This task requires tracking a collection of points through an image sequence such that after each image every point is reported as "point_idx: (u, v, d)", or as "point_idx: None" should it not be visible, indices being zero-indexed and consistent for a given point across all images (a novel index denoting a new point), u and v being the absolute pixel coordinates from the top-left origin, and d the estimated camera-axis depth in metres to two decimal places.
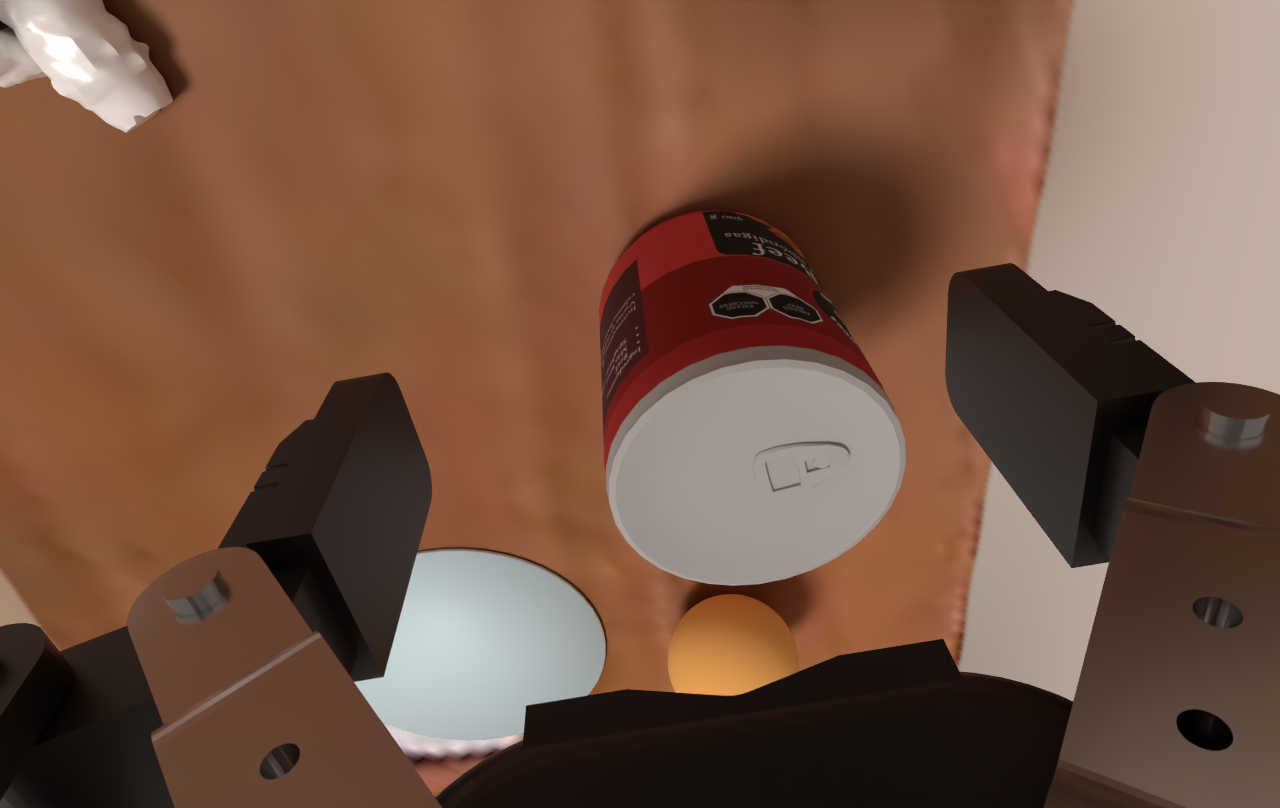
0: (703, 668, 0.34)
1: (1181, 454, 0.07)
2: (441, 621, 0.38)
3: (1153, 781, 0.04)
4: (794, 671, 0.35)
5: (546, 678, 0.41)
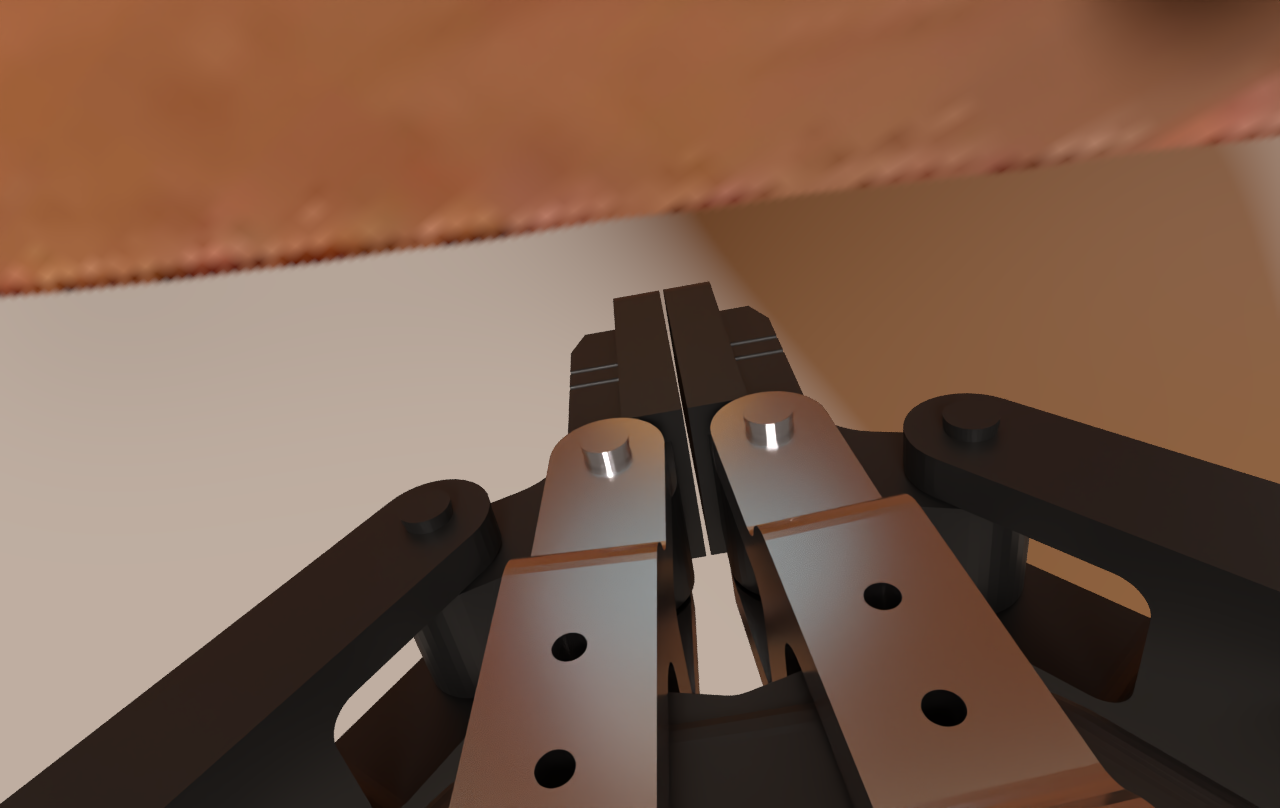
0: None
1: (756, 468, 0.08)
2: None
3: (946, 782, 0.04)
4: None
5: None
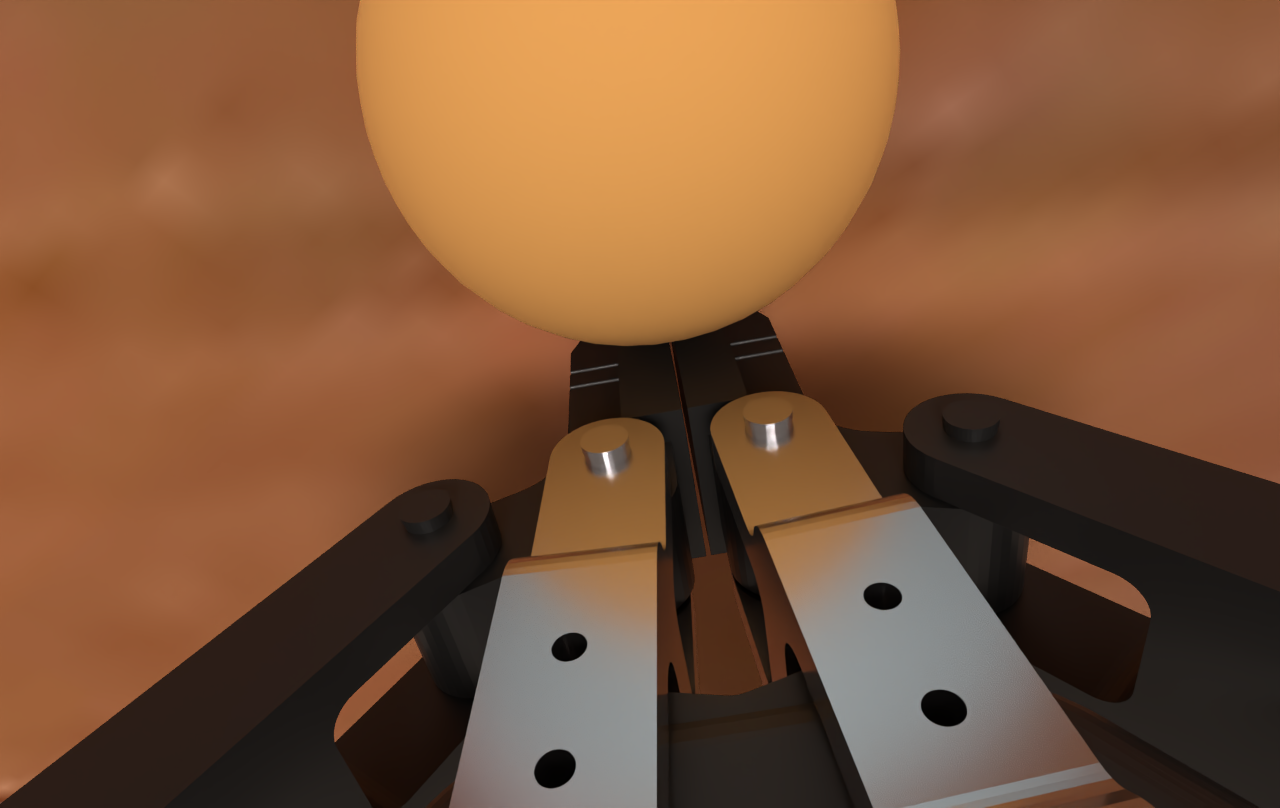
0: None
1: (756, 468, 0.08)
2: None
3: (946, 783, 0.04)
4: (666, 198, 0.07)
5: None
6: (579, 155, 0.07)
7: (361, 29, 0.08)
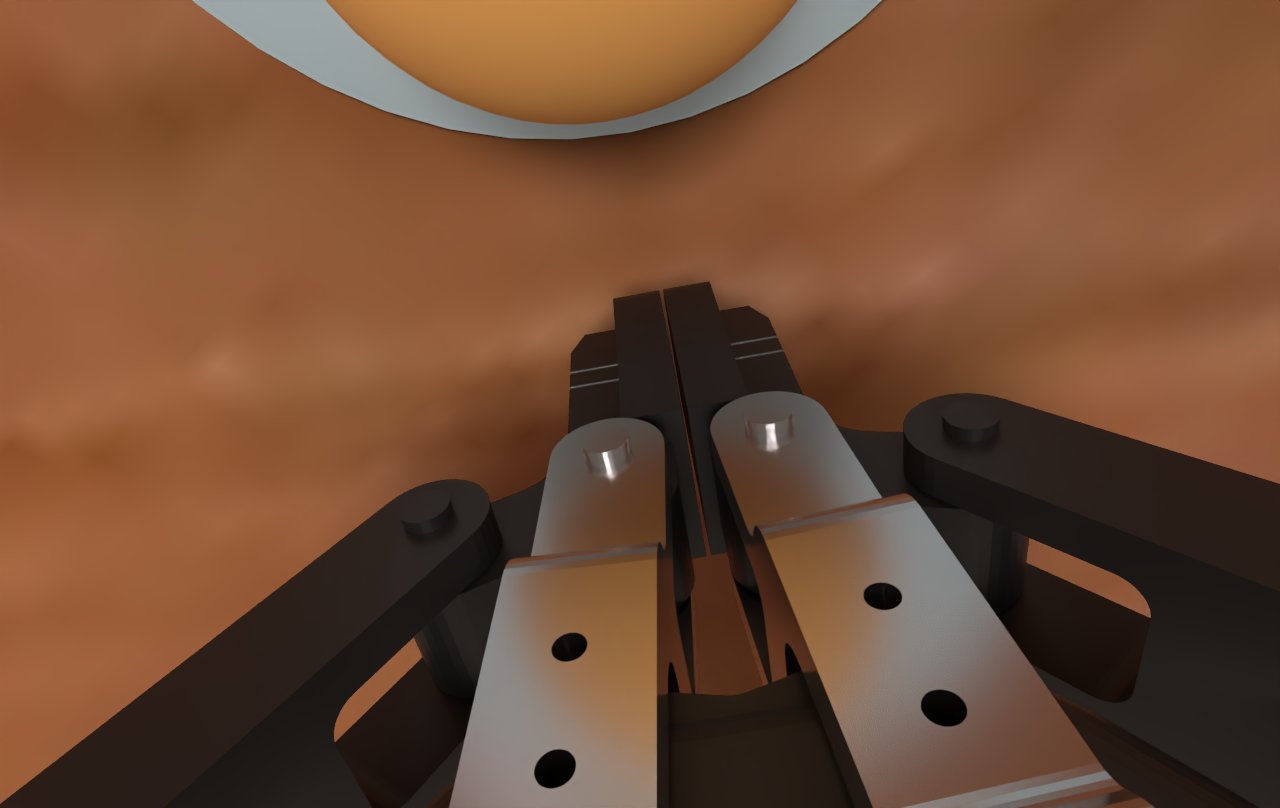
0: None
1: (756, 468, 0.08)
2: None
3: (946, 783, 0.04)
4: None
5: None
6: None
7: None
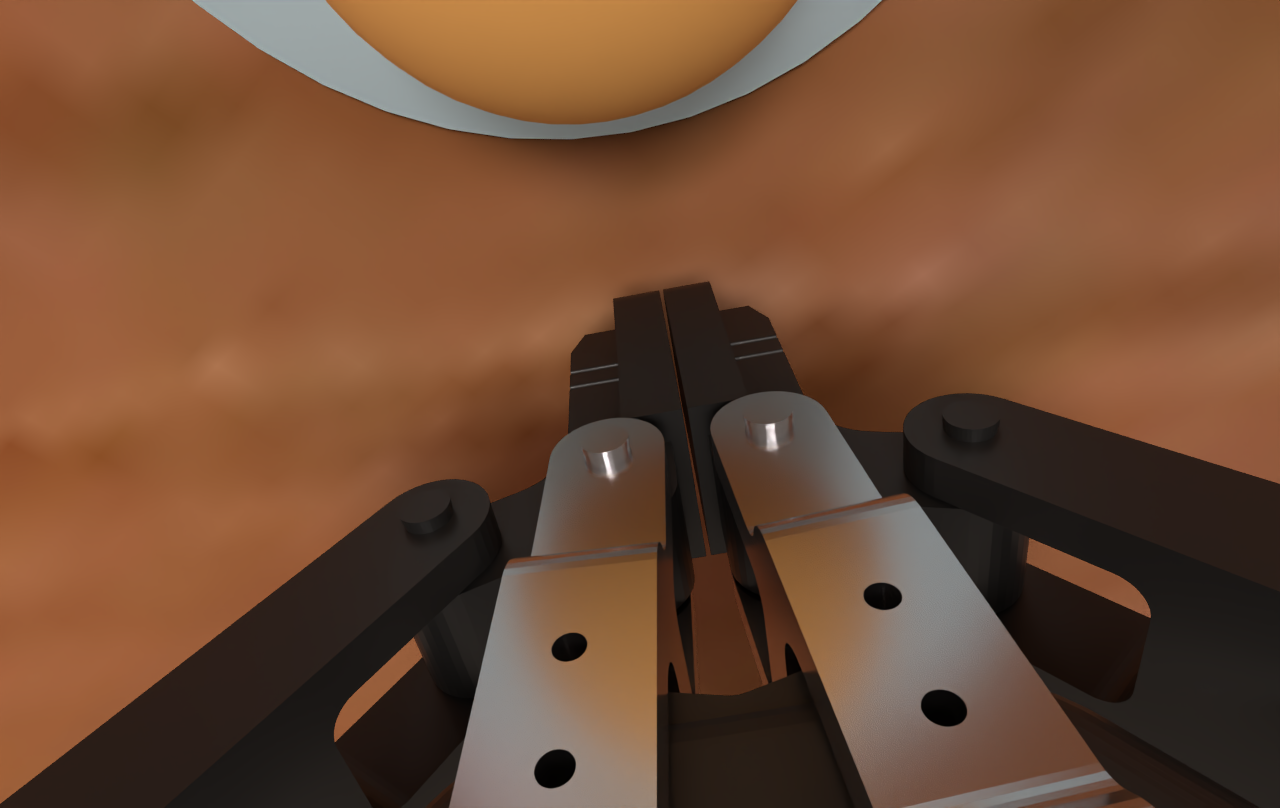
0: None
1: (756, 468, 0.08)
2: None
3: (946, 783, 0.04)
4: None
5: None
6: None
7: None
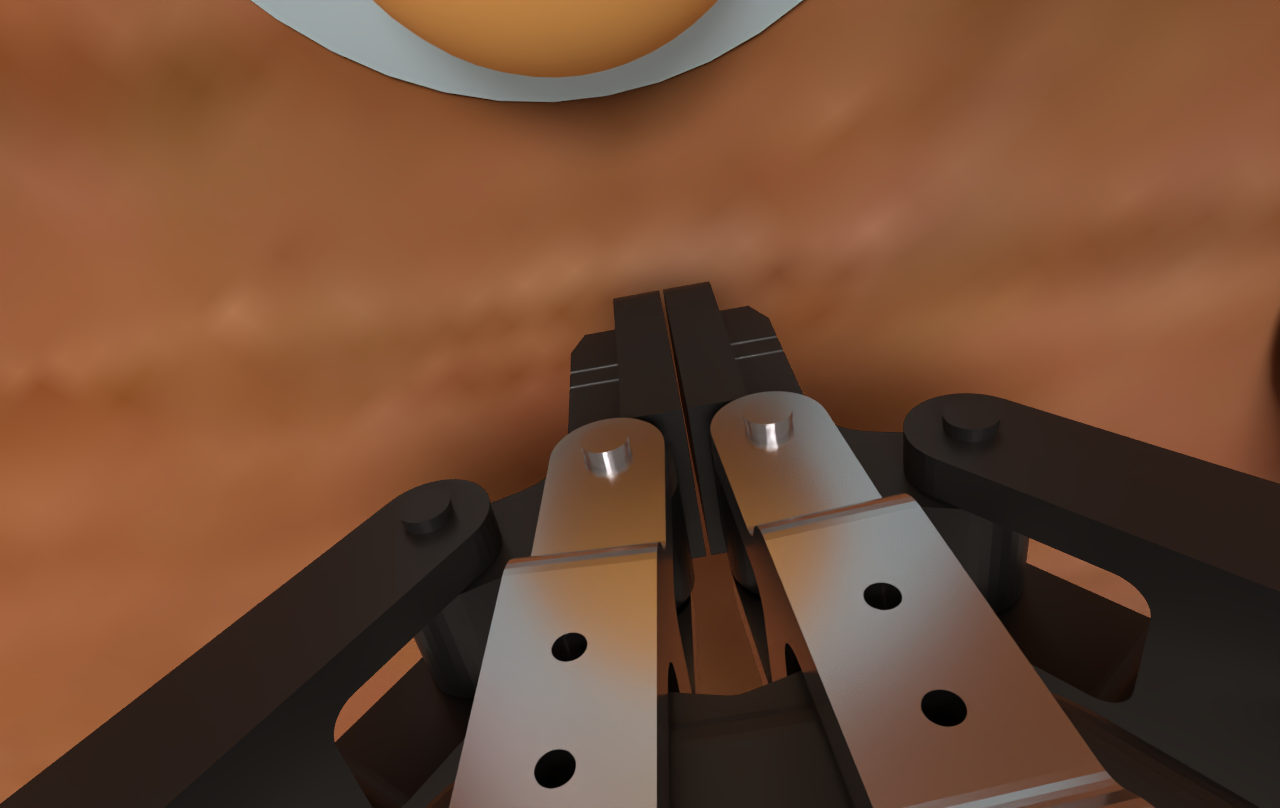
0: None
1: (756, 468, 0.08)
2: None
3: (946, 783, 0.04)
4: None
5: None
6: None
7: None
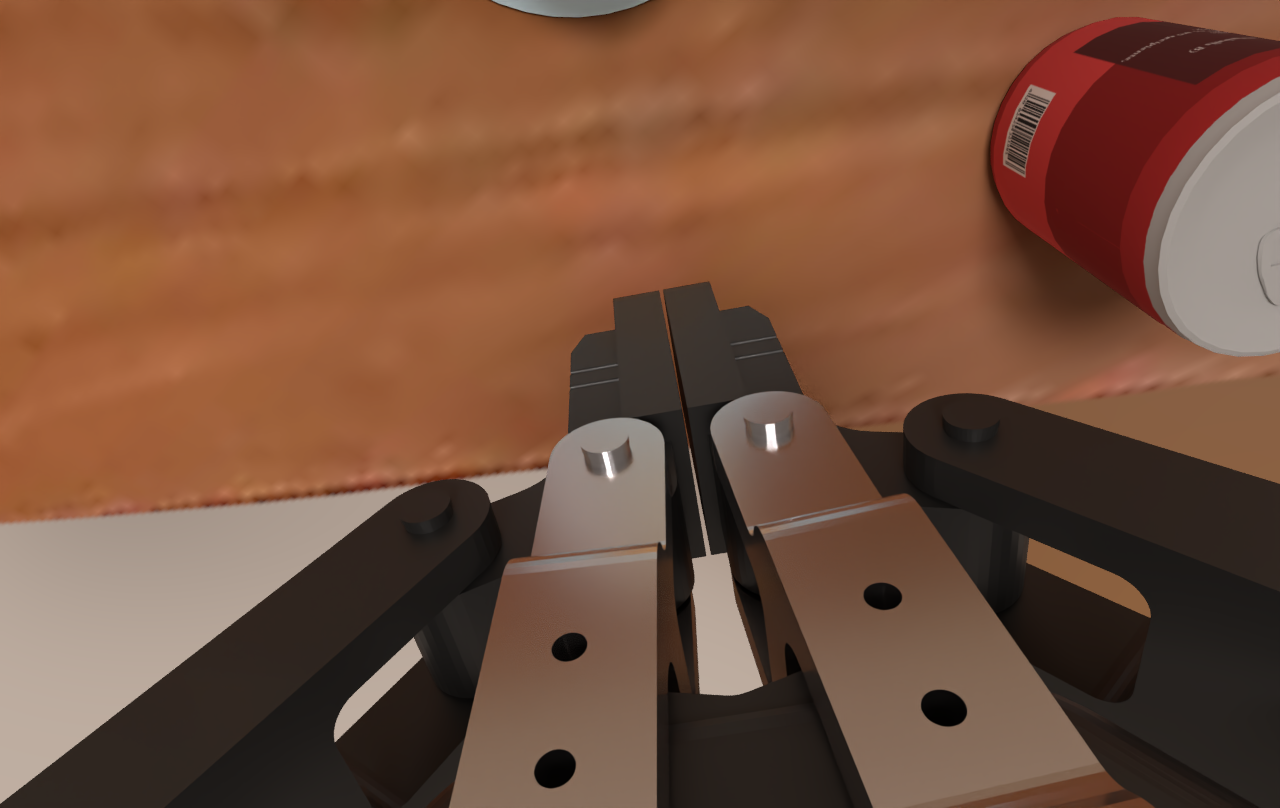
0: None
1: (756, 468, 0.08)
2: None
3: (946, 783, 0.04)
4: None
5: None
6: None
7: None
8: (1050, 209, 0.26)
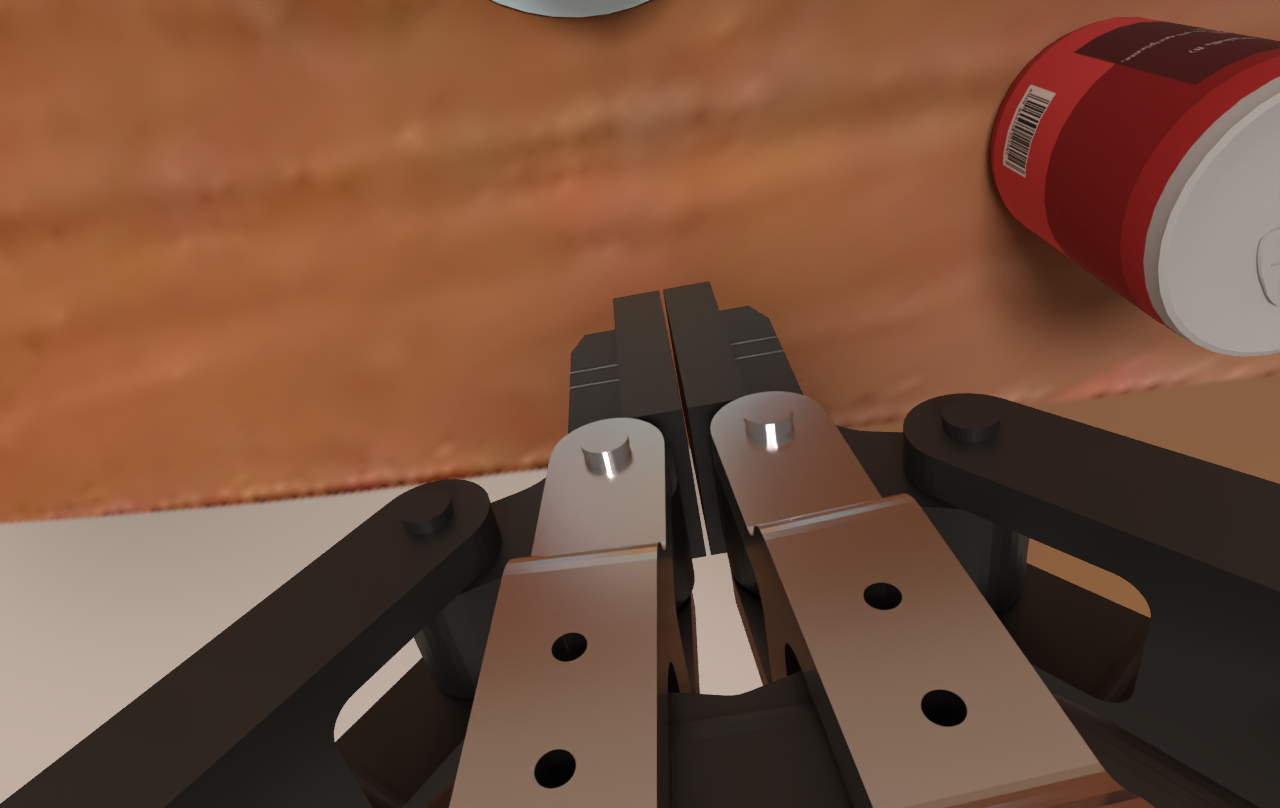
0: None
1: (756, 468, 0.08)
2: None
3: (946, 783, 0.04)
4: None
5: None
6: None
7: None
8: (1050, 209, 0.26)
